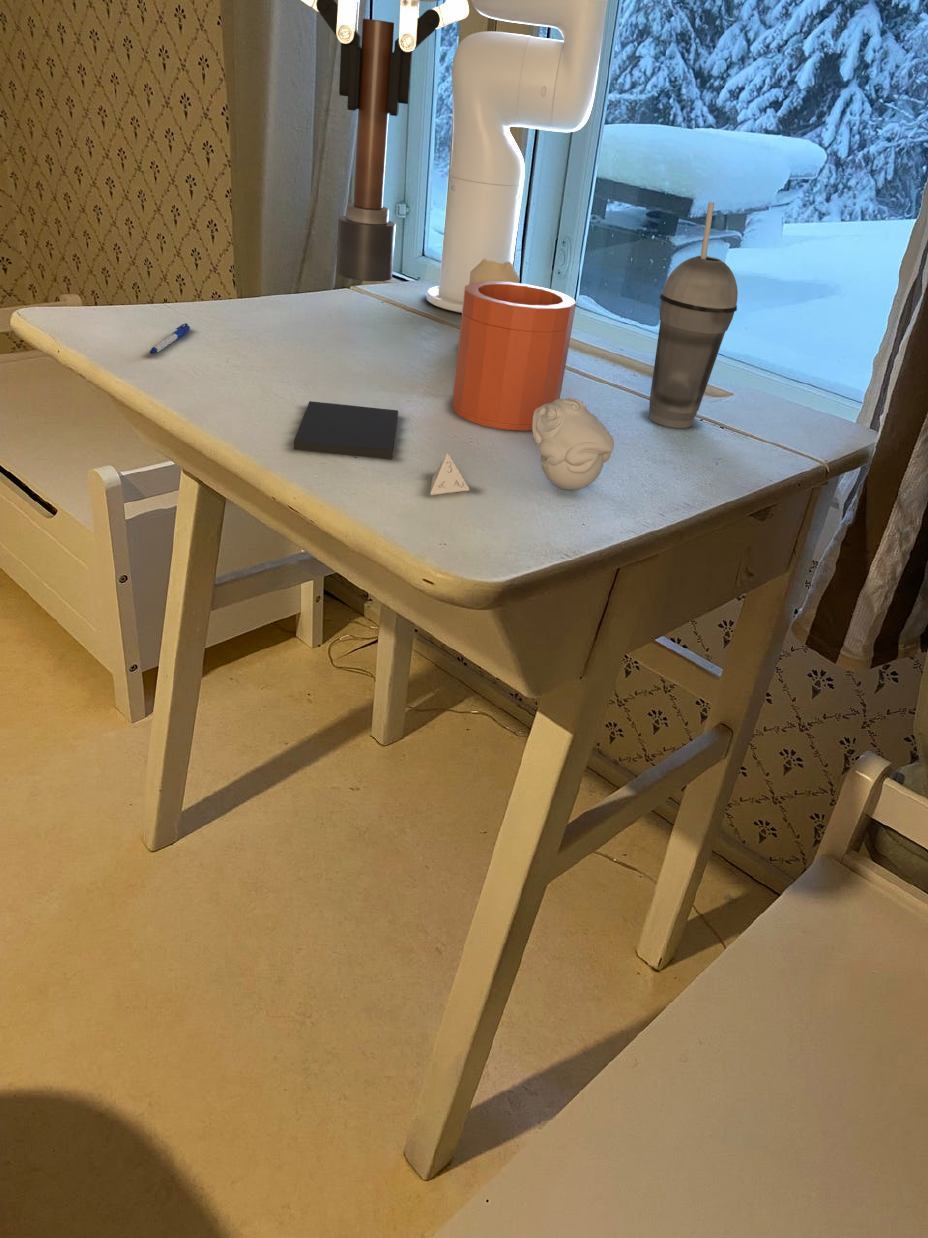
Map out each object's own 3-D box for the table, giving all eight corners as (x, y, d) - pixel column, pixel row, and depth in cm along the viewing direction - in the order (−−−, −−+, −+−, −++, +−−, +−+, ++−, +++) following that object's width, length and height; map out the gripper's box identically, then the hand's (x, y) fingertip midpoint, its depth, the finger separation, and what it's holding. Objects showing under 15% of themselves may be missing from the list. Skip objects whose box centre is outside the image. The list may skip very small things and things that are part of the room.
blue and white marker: (183, 329, 101) (182, 320, 100) (191, 331, 101) (190, 321, 100) (148, 355, 92) (148, 345, 91) (157, 356, 92) (157, 346, 91)
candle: (510, 348, 110) (522, 259, 104) (507, 361, 105) (520, 268, 100) (464, 342, 110) (474, 252, 105) (459, 354, 105) (469, 261, 100)
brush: (338, 266, 75) (349, 17, 66) (393, 272, 75) (411, 25, 67) (333, 277, 71) (344, 14, 63) (390, 283, 72) (409, 23, 63)
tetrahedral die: (413, 498, 72) (409, 467, 70) (433, 477, 74) (429, 446, 71) (451, 511, 71) (448, 480, 68) (470, 490, 72) (467, 459, 70)
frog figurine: (546, 463, 79) (559, 383, 75) (619, 489, 76) (637, 406, 72) (507, 482, 74) (520, 397, 71) (583, 510, 71) (600, 423, 68)
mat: (309, 409, 84) (309, 400, 83) (397, 418, 84) (398, 410, 84) (293, 449, 75) (293, 440, 75) (392, 459, 76) (393, 450, 75)
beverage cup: (669, 436, 89) (723, 210, 79) (619, 410, 94) (663, 195, 84) (721, 428, 93) (779, 213, 82) (670, 404, 98) (719, 198, 87)
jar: (451, 390, 93) (464, 276, 88) (550, 401, 94) (568, 288, 88) (452, 424, 85) (466, 300, 79) (560, 435, 85) (581, 313, 80)
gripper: (514, -188, 62) (480, 123, 71) (272, -225, 61) (270, 95, 70) (522, -216, 56) (484, 129, 65) (252, -259, 54) (253, 99, 64)
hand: (373, 109), depth 68 cm, fingers closed on brush, 2 cm apart
